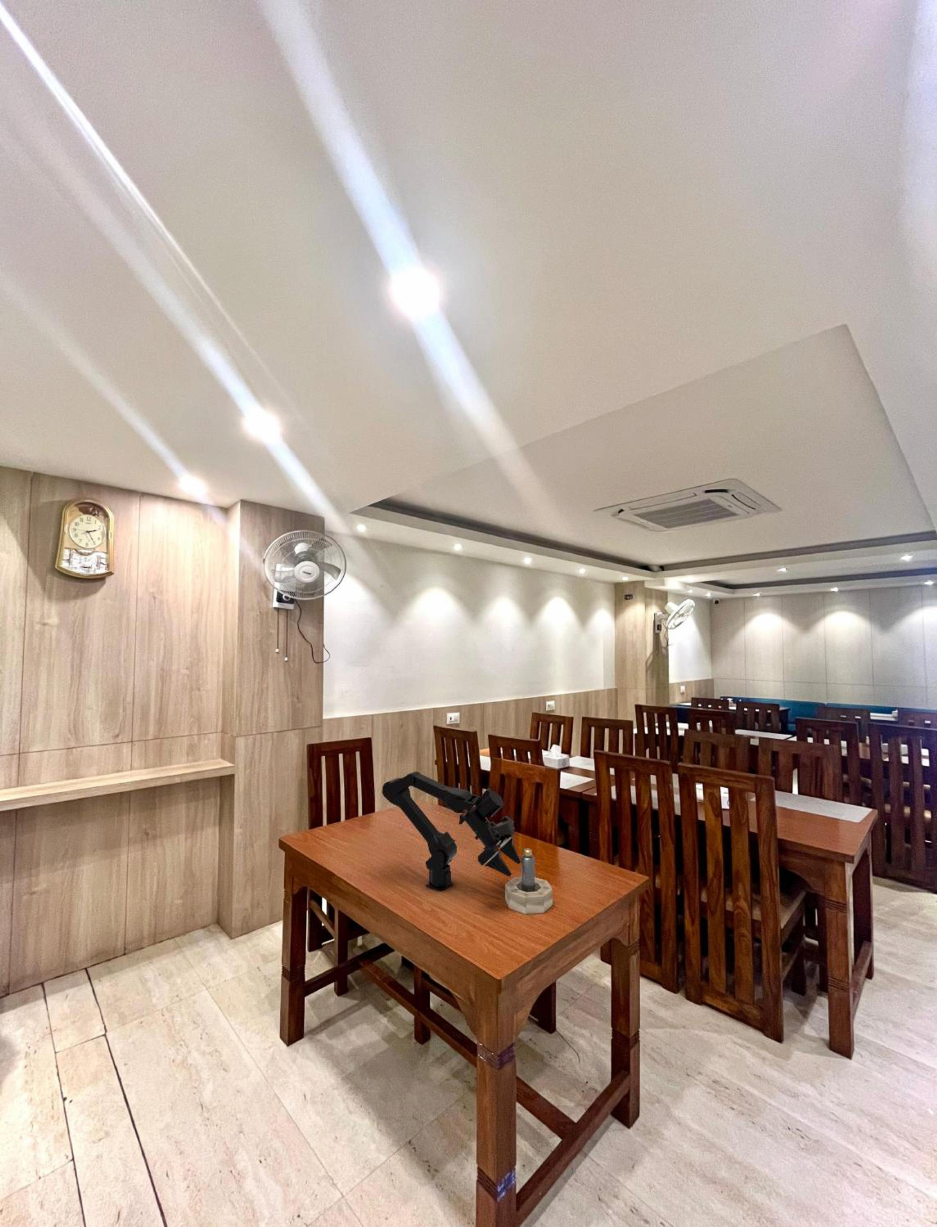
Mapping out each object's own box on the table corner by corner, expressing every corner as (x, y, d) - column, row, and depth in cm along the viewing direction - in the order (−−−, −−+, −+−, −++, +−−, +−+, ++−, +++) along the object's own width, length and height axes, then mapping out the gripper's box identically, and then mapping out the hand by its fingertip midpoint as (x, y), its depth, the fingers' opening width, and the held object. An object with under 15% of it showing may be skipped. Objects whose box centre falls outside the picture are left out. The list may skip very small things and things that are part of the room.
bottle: (522, 905, 147) (521, 852, 148) (521, 898, 151) (520, 847, 152) (536, 905, 147) (535, 852, 148) (534, 898, 151) (533, 847, 152)
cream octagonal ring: (498, 904, 147) (498, 889, 148) (520, 887, 158) (520, 873, 158) (538, 918, 140) (537, 901, 140) (558, 899, 150) (557, 883, 151)
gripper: (487, 819, 146) (524, 865, 141) (508, 801, 163) (541, 841, 158) (462, 843, 148) (498, 888, 143) (485, 823, 166) (517, 863, 160)
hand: (515, 869), depth 151 cm, fingers open, 9 cm apart
